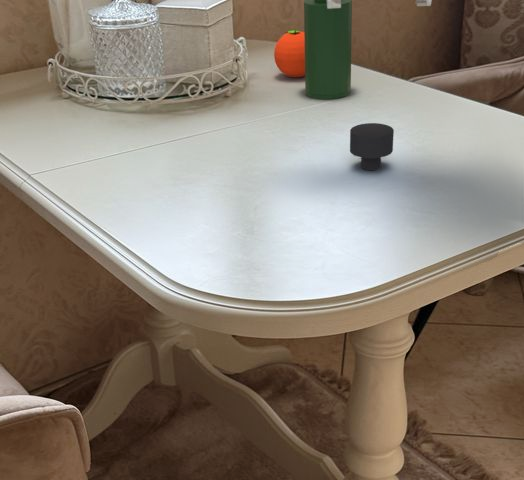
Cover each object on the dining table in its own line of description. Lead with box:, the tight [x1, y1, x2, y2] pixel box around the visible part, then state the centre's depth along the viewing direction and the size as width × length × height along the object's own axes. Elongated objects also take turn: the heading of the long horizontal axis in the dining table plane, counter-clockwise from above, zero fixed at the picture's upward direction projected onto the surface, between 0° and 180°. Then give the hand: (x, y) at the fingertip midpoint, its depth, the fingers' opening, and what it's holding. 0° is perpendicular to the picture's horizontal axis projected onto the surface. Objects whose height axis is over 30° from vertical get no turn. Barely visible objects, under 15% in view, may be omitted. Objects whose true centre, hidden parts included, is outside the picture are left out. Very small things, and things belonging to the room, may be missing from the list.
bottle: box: [303, 0, 353, 100], centre depth 115 cm, size 7×7×17 cm
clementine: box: [273, 29, 305, 78], centre depth 126 cm, size 8×7×7 cm
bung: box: [349, 122, 395, 171], centre depth 93 cm, size 5×5×4 cm
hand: (378, 6), depth 84 cm, fingers open, 8 cm apart
